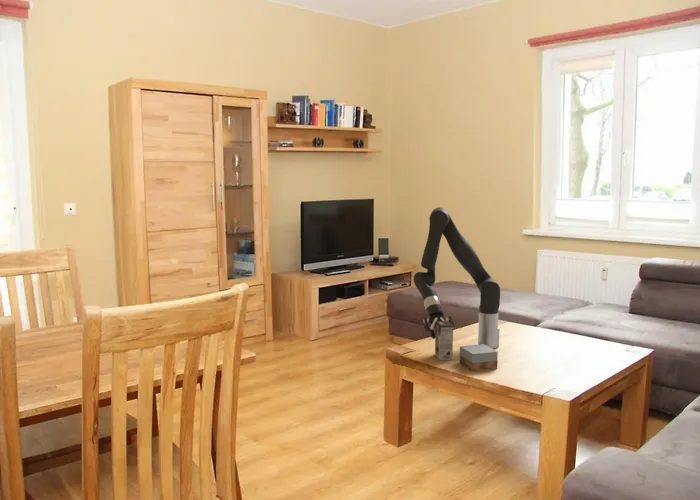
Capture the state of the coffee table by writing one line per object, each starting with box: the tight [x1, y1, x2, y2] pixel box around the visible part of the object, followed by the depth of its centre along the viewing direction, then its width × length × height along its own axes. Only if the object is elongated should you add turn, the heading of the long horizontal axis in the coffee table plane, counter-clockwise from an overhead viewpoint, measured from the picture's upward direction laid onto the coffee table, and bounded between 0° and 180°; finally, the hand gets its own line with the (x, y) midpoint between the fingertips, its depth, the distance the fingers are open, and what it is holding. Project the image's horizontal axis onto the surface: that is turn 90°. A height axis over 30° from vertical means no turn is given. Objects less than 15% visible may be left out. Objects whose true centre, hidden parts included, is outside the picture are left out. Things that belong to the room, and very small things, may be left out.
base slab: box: [459, 354, 498, 372], centre depth 273 cm, size 12×12×4 cm
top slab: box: [459, 344, 499, 363], centre depth 273 cm, size 12×12×4 cm
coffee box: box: [434, 320, 454, 361], centre depth 285 cm, size 9×6×16 cm
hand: (442, 337), depth 286 cm, fingers open, 8 cm apart
